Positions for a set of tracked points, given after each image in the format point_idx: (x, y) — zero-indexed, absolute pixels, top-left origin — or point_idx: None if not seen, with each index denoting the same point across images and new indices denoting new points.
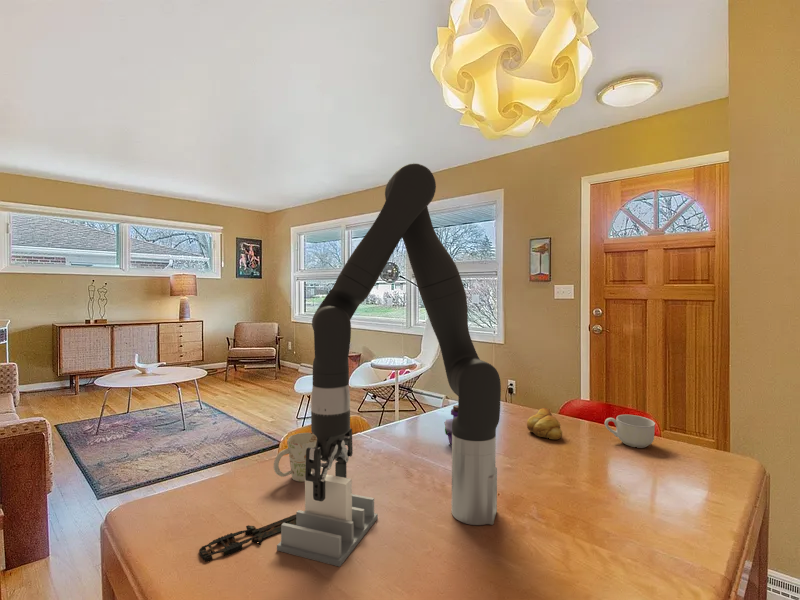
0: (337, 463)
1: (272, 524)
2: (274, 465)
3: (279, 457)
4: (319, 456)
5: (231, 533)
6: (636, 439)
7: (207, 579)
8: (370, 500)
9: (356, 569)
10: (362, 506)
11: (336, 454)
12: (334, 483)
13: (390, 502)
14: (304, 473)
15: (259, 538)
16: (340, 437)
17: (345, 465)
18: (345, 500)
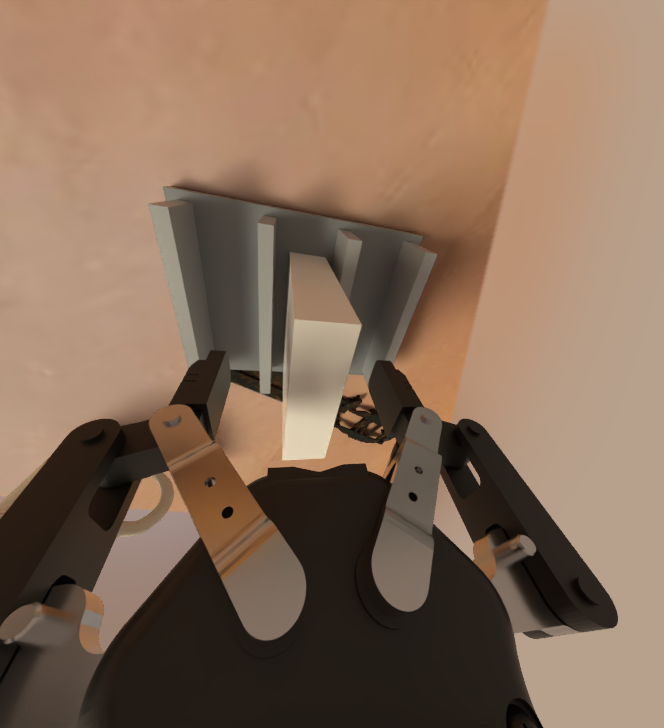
0: (213, 433)
1: None
2: (170, 504)
3: (150, 519)
4: (558, 553)
5: (350, 436)
6: None
7: (432, 407)
8: (172, 219)
9: (428, 183)
10: (190, 251)
11: (310, 494)
12: (346, 371)
13: (13, 154)
14: None
15: (356, 404)
16: (227, 675)
17: (200, 398)
18: (345, 295)
